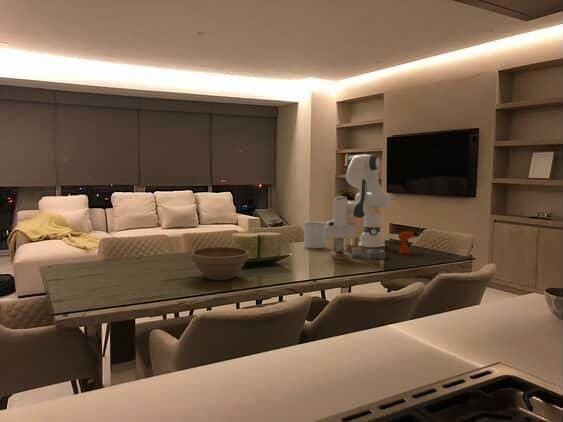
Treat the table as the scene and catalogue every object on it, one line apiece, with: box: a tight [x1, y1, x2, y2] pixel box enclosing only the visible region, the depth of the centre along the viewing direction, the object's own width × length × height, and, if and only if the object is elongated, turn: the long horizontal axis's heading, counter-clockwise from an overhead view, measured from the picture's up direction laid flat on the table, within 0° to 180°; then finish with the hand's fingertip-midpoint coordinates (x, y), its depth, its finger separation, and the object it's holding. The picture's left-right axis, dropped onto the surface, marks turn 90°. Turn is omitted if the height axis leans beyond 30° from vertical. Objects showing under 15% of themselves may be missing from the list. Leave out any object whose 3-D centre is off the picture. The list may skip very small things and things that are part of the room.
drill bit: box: [335, 238, 344, 254], centre depth 283 cm, size 4×4×14 cm
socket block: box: [365, 249, 387, 260], centre depth 286 cm, size 10×10×4 cm
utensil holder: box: [303, 221, 326, 249], centre depth 325 cm, size 15×15×18 cm
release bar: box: [351, 247, 362, 257], centre depth 286 cm, size 4×5×6 cm
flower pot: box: [190, 246, 250, 281], centre depth 230 cm, size 28×28×13 cm
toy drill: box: [398, 230, 425, 255], centre depth 302 cm, size 5×19×15 cm, turn 103°
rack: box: [330, 251, 350, 260], centre depth 284 cm, size 10×10×3 cm
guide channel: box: [347, 252, 365, 260], centre depth 289 cm, size 14×8×1 cm, turn 1°
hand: (339, 245), depth 283 cm, fingers open, 8 cm apart
